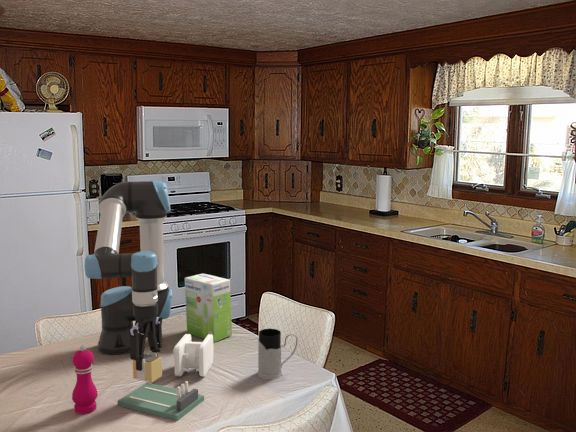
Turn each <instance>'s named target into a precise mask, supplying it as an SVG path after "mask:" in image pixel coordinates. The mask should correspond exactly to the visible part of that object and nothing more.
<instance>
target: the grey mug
mask: <svg viewBox="0 0 576 432" xmlns="http://www.w3.org/2000/svg"><path fill="white" fill-rule="evenodd" d="M281 335H282V333H281V330H279V329H276V328H263V329H261V330H259V331H258V338H257V339H258V345H257V346H258V348H257V351H258V353H257V355H258V361H257V363H258V365H257V366H258V370H257V373H256V375H257V377H259V378H261V379H264V380H275V379H276V380H277V379H278V378H281V377H282V376H283V372H282V368H283V365H284V364H285V363H286V362H287V361H288V360H290V358H292V356H293V355H294V354H295V352H296V350H297V347H298V336H296V335H295V333H289V334H287V335H285V338H284V344H283V345H281V343H282V342H281V341H282V340H281V338H282V337H281ZM289 336H294V337H295V339H296V340H295V345H294V349H293V351H292V352H291V353H290V355H289V356H288V357H287V358H286V359H284V360H283V361H282V348H284V347H285V346H286V345H287V339H288V337H289Z"/></svg>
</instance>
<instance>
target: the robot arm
mask: <svg viewBox="0 0 576 432" xmlns="http://www.w3.org/2000/svg"><path fill="white" fill-rule="evenodd" d="M170 212H171V203H170V197H169V191H168V186H167V183H165V182H164V181H158V180H157V181H155V180H147V181H146V180H145V181H144V180H141V181H129V180H128V181H121V182H119V183H117V184H115V185H113V186H111V187H109V188H108V190H106V192H104V193H103V195H102V196H101V199H100V200H99V204H98V213H99V214H100V216H99V222H98V227H97V234H96V238H95V240H96V241H95V245H94V251H93V252H94V253H92V254H88V255H86V256H85V258H84V274H85V276H86V278H88V279H96V280H99V279H100V280H101V279H118V278H120V279H121V278H123V279H124V278H125V279H126V278H131V285H132V286H130V285H128V286H126V285H123V286H117V287H113V288H110V289H107V290H105V291H104V292H102V293H101V295H100V314H101V332H100V334H99V335H100V336H99V339H98V342H97V351H98V352H99V353H101V354H103V355H112V356H113V355H122V354H128V353H130V354H129V359H130V360H132V361H133V360H136V370H137V379H136V380H139V381H143V382H146V381H145V380H146V369H145V359H143V357H144V354H145V349H146V343H147V342H148V346H149V350H150V351H149V352H148V351H147V352H148V355H152V356H157V357H159V353H161V351H162V348H163V333H162V332H163V331H162V330H163V329H162V328H163V327H162V326H163V324H162V323H163V320H167V319H168V318H169V317H170V315H171V311H172V310H171V308H172V302H173V301H172V298H173V289H171V288H170V287H169V284H168V283H167V282H166V281H165V255H164V254H165V251H164V247H165V246H164V220H165V219H166V218H167V216H168V215H167V214H168V213H170ZM126 213H127V214H128V213H129V214H130V213H131V214H132V213H134V216H135V219H136V220H137V221H138V222H139V240H140V241H139V242H140V243H139V244H140V245H139V246H140V251H137V252H135V253H120V243H121V236H122V235H121V234H122V228H123V227H122V225H123V219H124V217H125V215H126ZM146 341H147V342H146Z"/></svg>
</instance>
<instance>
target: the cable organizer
mask: <svg viewBox="0 0 576 432" xmlns="http://www.w3.org/2000/svg"><path fill="white" fill-rule="evenodd" d="M173 347H174V348H173V349H172V353H173V354H174V355H173V359H174V366H173V367H174V376H175V377H182V376H183V374H184V372H185V371H186V372H187V373H189V369H195V373H197V372H199V373H198V375H199V377H202V378H204V377H206V375H207V373H208V372H209V370H210V368H211V367H212V365H213V363H214V342H213V335H212V334H208V335H207V337H206V338H205V339H204V340H203V341H192V334H189V333H185V334H184V335H183V336H182V338H180V339H179V341H178V342H177V343H176V344H175V346H173Z"/></svg>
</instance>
